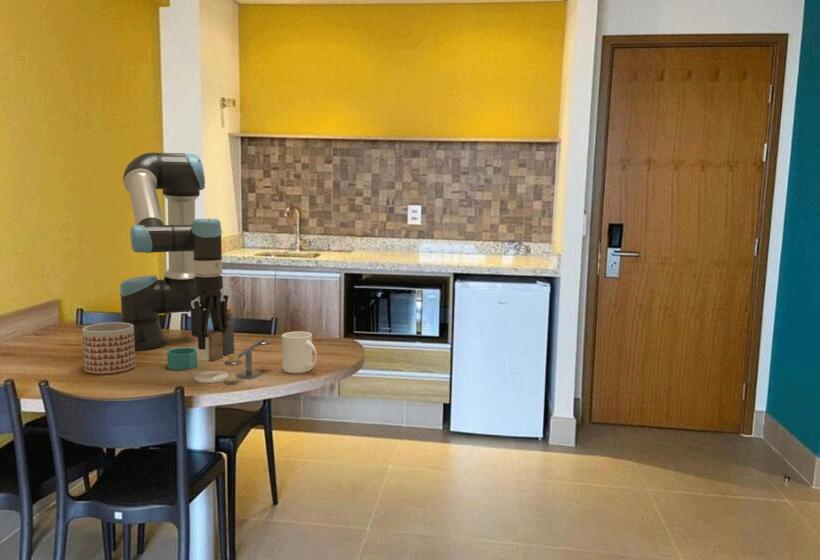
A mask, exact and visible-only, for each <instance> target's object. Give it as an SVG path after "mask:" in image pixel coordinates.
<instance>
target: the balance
mask: <svg viewBox="0 0 820 560" xmlns="http://www.w3.org/2000/svg"><path fill="white" fill-rule="evenodd" d="M271 342H272V341H270V340H265V338H260V339H259V340H257V341H255V342H254V343H252V344H251V345H249V346H248V347H247V348H245V349H243V350H242V351H241V352H240V353H238V354H237V353H234V354H230V355H227V360H226V361H224V365H225V366H229V367H233V366H239V365H242V361H241V359H240V358H242V357H243V356H245V370H243V371H241V372H238V373H236V375H235V376H236V378H241V379H242V378H243V379H246V380H247V379H248V380H251V379H255V378H257V377H260V376H261V375H263V373H262V371H257V370H253V366H252V365H253V361H252V360H253V359H252V357H253V356H252V355H253V354H252V350H254V349H255V348H257V347H258V346H268V345H269V346H270V345H271V344H272V343H271Z"/></svg>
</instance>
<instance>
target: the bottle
mask: <svg viewBox="0 0 820 560" xmlns="http://www.w3.org/2000/svg"><path fill="white" fill-rule="evenodd" d="M231 311H232V307H229V306H227V330H225V333H222V344H223V357H224V356H225V357H228V355H230V354H235V332H234V331H235V329H234V321H233V320H232V319H231V318H232V317H233V313H232V312H231ZM222 325H223V324H222ZM217 328H218V327H217Z"/></svg>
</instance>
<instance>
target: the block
mask: <svg viewBox="0 0 820 560" xmlns="http://www.w3.org/2000/svg"><path fill="white" fill-rule="evenodd" d="M206 337H209V361H208V362H210V363H211V362H212V363H213V362H217V361H219V360H223V359H224V356H223V344H222V332H216V331H214V330H207V336H206ZM198 349H199V348H198ZM199 354H200V349H199ZM200 361H201V362H204V361H203V360H200Z"/></svg>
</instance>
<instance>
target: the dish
mask: <svg viewBox="0 0 820 560" xmlns="http://www.w3.org/2000/svg"><path fill="white" fill-rule="evenodd" d="M228 379H229V372H226V371H221V370H209V371H201V372H198V373H196V374H195V375H194V382H196V383H199V384H216V383H222V382H225V381H227V380H228Z"/></svg>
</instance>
